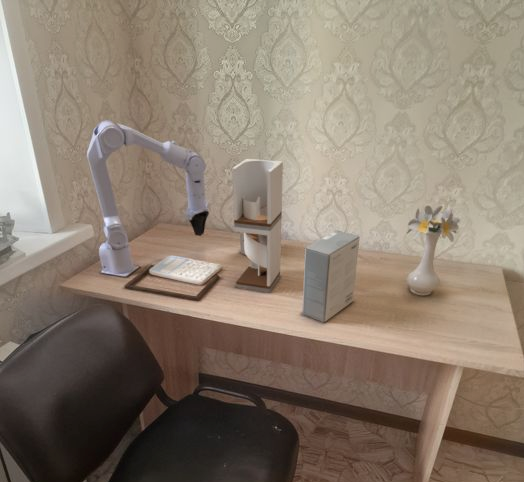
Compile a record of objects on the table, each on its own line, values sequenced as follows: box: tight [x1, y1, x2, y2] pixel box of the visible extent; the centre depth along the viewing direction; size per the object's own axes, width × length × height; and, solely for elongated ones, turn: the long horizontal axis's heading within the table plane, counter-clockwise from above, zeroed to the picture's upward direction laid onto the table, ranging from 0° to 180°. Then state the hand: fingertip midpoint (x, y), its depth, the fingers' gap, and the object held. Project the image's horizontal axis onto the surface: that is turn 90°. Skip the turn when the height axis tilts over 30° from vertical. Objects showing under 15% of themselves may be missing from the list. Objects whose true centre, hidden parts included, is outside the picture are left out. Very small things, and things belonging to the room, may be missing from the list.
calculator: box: [148, 255, 222, 286], centre depth 150 cm, size 13×20×2 cm, turn 66°
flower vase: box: [406, 205, 461, 297], centre depth 133 cm, size 13×18×25 cm
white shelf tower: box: [231, 158, 284, 293], centre depth 135 cm, size 11×11×35 cm
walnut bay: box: [123, 264, 221, 302], centre depth 144 cm, size 25×16×1 cm, turn 71°
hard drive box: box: [302, 229, 360, 323], centre depth 126 cm, size 16×8×20 cm, turn 141°
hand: (199, 234), depth 155 cm, fingers closed
